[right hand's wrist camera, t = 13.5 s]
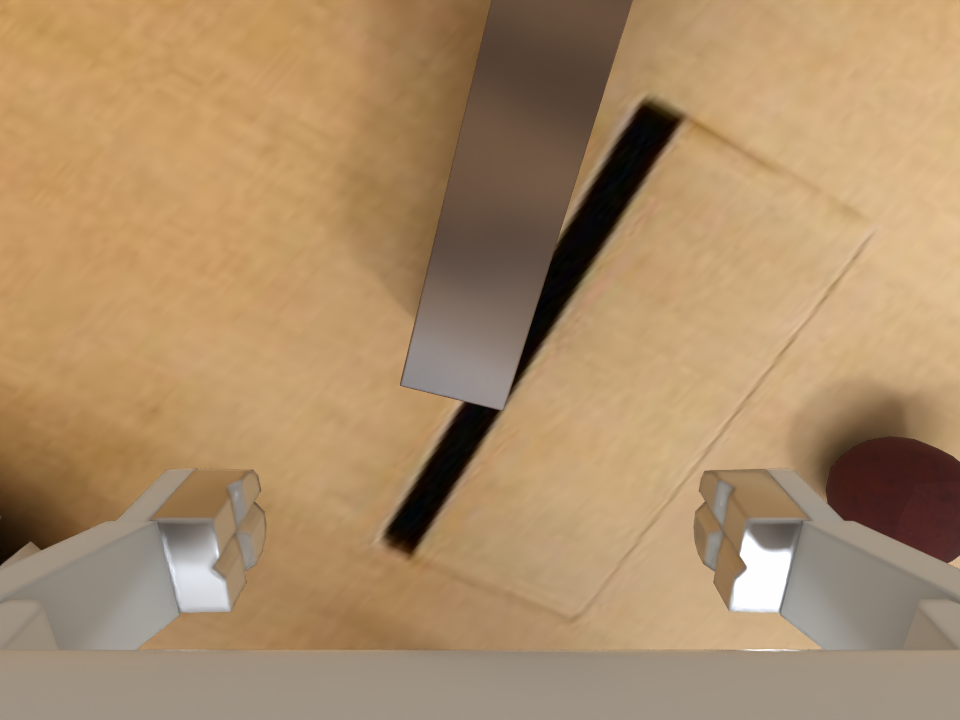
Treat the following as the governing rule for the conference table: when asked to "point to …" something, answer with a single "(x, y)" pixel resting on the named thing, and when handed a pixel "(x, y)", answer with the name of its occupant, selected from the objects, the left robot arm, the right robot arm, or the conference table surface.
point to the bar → (509, 191)
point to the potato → (901, 493)
